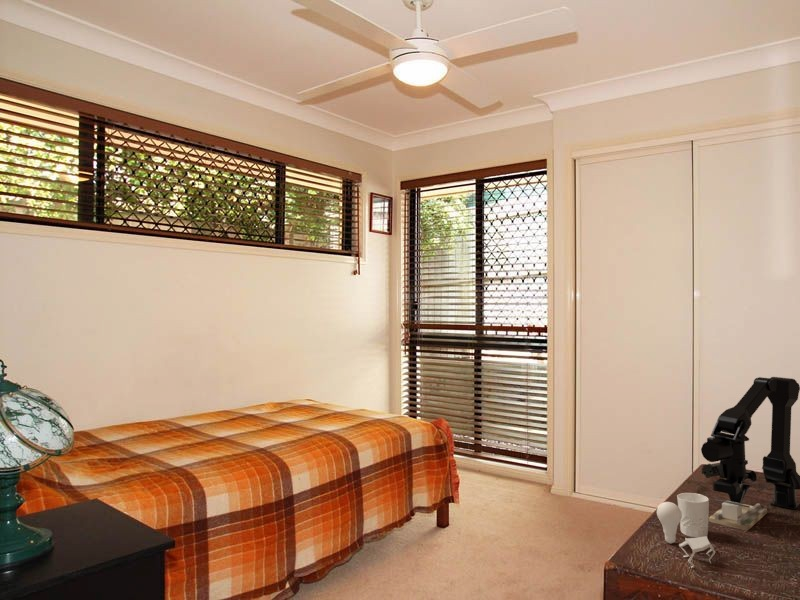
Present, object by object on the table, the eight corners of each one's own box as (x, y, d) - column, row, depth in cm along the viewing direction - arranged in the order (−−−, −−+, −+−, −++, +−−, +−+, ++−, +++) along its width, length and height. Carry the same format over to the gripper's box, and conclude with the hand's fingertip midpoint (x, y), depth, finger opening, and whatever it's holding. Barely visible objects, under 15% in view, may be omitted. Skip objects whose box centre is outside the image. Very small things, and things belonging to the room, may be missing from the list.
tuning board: (730, 505, 178) (730, 497, 178) (767, 513, 171) (766, 505, 171) (709, 521, 166) (708, 513, 166) (747, 530, 159) (746, 522, 159)
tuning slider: (717, 511, 170) (717, 497, 170) (752, 519, 163) (751, 504, 163) (712, 515, 167) (712, 500, 167) (747, 523, 160) (747, 508, 161)
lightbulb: (685, 548, 149) (684, 506, 150) (661, 547, 151) (659, 506, 151) (679, 539, 155) (677, 498, 155) (655, 538, 157) (653, 498, 157)
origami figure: (679, 549, 149) (678, 531, 149) (716, 555, 145) (715, 536, 145) (676, 569, 139) (675, 549, 139) (715, 576, 135) (714, 555, 135)
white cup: (709, 529, 161) (707, 494, 161) (711, 540, 154) (709, 503, 154) (678, 526, 164) (676, 491, 164) (679, 536, 157) (677, 500, 157)
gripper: (716, 446, 180) (718, 495, 180) (692, 458, 168) (695, 511, 168) (756, 452, 172) (758, 503, 172) (734, 465, 159) (736, 521, 159)
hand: (736, 509), depth 168 cm, fingers closed
